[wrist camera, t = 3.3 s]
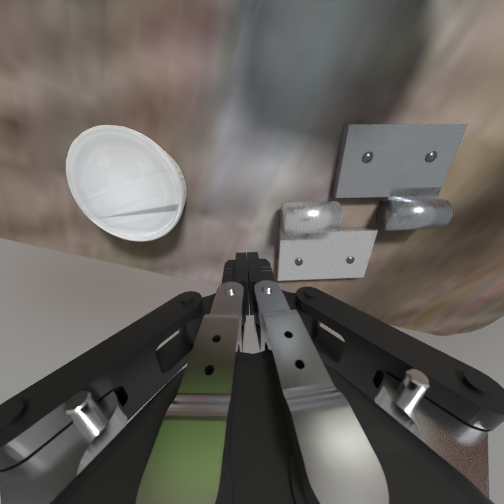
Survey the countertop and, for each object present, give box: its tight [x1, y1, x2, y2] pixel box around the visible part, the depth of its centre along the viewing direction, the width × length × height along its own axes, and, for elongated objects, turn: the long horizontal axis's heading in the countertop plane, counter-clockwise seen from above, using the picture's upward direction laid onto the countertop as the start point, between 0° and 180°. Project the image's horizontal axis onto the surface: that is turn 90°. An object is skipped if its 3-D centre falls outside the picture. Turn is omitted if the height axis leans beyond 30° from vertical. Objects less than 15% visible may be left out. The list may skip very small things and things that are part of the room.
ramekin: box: [66, 125, 187, 242], centre depth 21 cm, size 11×11×5 cm
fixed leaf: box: [332, 124, 468, 231], centre depth 23 cm, size 15×12×4 cm
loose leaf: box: [277, 201, 378, 281], centre depth 26 cm, size 14×12×4 cm
